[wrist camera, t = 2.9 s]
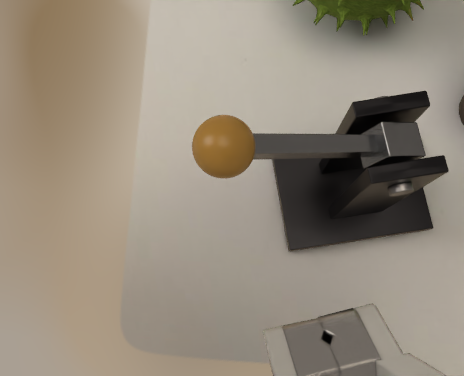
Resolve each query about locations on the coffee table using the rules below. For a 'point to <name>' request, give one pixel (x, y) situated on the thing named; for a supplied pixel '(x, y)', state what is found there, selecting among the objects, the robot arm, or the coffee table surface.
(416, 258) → the coffee table surface
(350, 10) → the chestnut
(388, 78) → the coffee table surface
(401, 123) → the tap lever
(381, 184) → the black lever stand
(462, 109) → the coffee cup
